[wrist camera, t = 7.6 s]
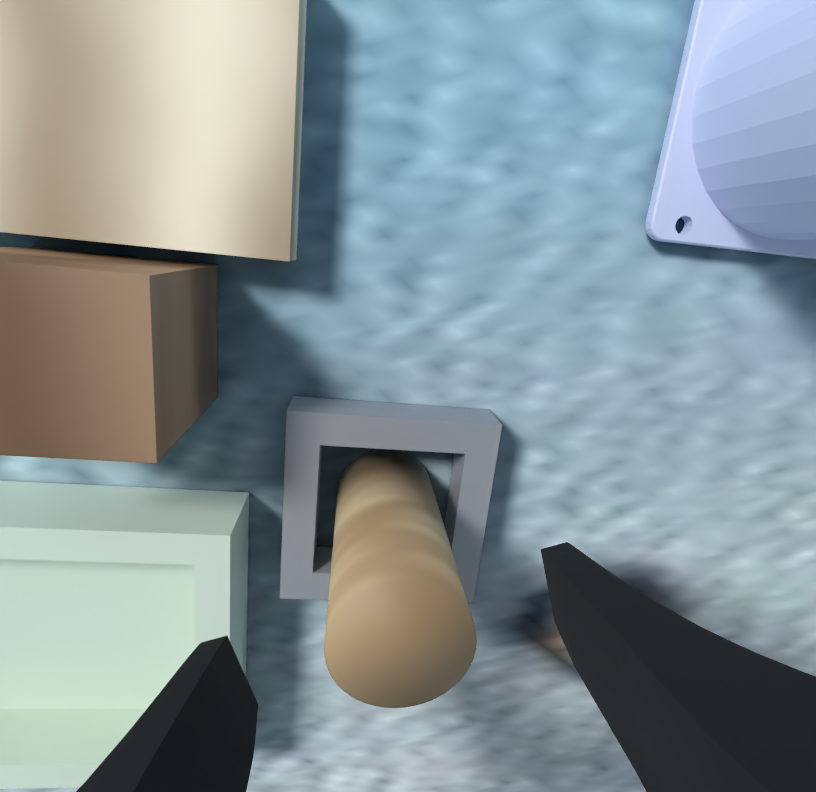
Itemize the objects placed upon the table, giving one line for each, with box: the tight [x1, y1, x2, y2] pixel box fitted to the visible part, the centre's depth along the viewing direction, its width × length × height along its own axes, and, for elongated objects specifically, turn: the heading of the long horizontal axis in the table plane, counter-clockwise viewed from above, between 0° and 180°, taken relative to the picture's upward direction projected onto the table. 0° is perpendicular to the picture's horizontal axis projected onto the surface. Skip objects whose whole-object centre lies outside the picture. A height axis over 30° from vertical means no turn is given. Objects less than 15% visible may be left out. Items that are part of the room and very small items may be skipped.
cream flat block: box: [0, 0, 307, 261], centre depth 13 cm, size 10×7×2 cm
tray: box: [0, 481, 249, 789], centre depth 16 cm, size 11×10×3 cm
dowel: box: [324, 449, 477, 708], centre depth 14 cm, size 3×3×7 cm
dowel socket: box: [280, 396, 502, 603], centre depth 17 cm, size 6×6×2 cm
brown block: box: [0, 247, 218, 463], centre depth 13 cm, size 5×4×5 cm
